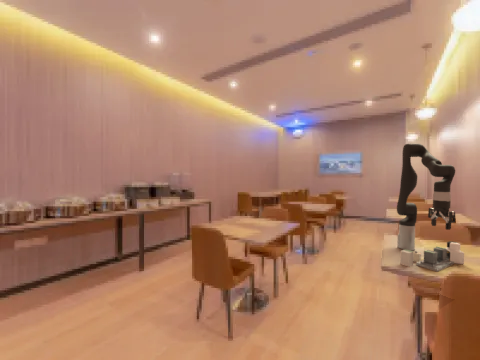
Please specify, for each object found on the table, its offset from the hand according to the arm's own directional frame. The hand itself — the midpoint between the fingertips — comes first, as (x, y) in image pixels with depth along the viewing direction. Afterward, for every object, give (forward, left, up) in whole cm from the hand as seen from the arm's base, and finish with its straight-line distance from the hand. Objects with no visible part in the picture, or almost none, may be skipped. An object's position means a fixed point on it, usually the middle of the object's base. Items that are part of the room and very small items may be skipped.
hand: (440, 227), depth 128 cm
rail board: (-3, +3, -23) cm, 24 cm away
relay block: (-12, 0, -23) cm, 26 cm away
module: (-11, -12, -23) cm, 29 cm away
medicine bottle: (0, +19, -23) cm, 30 cm away
